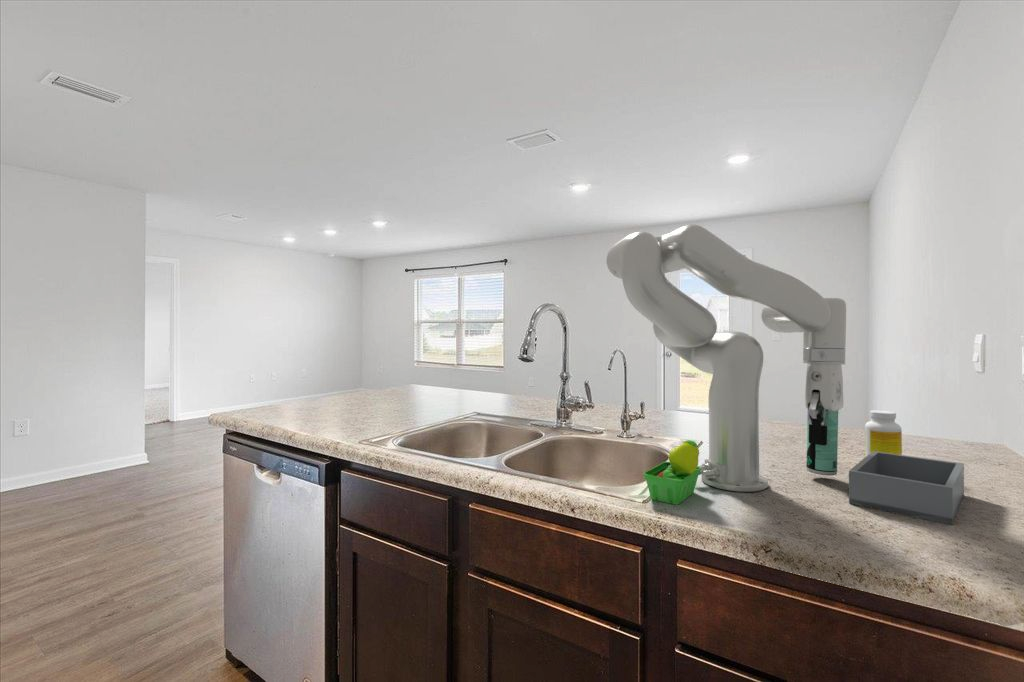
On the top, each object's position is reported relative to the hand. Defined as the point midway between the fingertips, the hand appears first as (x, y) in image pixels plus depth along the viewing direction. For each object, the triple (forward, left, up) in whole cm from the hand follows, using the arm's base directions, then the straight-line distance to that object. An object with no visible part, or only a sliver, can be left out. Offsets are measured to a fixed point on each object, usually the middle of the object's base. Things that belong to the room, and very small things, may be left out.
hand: (822, 441), depth 102 cm
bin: (+5, -14, -8) cm, 17 cm away
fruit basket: (-35, -1, -8) cm, 36 cm away
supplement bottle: (+20, +3, -8) cm, 22 cm away
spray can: (0, 0, -7) cm, 7 cm away
